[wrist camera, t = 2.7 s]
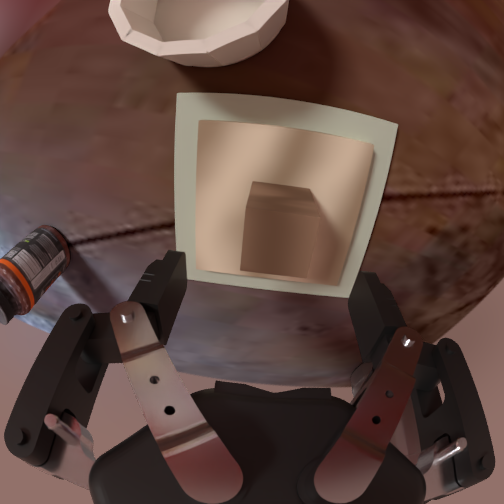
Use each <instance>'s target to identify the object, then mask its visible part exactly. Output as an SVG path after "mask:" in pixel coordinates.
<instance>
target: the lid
mask: <svg viewBox="0 0 504 504" xmlns="http://www.w3.org/2000/svg"><path fill="white" fill-rule="evenodd" d="M373 150H374V145H373V144H371V143H368V142H364V141H360V140H355V139H351V138H347V137H342V136H337V135H332V134H327V133H322V132H316V131H311V130H305V129H298V128H292V127H285V126H277V125H269V124H260V123H250V122H238V121H223V120H199V122H198V140H197V164H196V210H195V240H196V269H198V270H206V271H213V272H221V273H229V274H237V275H245V276H253V277H261V278H269V279H278V280H287V281H296V282H305V283H314V284H324V285H334V286H337V283H338V280H339V277H340V274H341V271H342V268H343V265H344V262H345V258H346V255H347V252H348V249H349V245H350V242H351V239H352V235H353V232H354V228H355V225H356V221H357V217H358V214H359V210H360V206H361V202H362V198H363V194H364V190H365V186H366V182H367V177H368V173H369V169H370V164H371V159H372V154H373Z"/></svg>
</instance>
